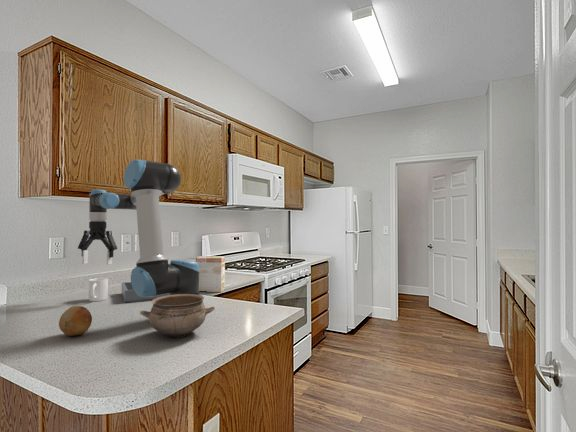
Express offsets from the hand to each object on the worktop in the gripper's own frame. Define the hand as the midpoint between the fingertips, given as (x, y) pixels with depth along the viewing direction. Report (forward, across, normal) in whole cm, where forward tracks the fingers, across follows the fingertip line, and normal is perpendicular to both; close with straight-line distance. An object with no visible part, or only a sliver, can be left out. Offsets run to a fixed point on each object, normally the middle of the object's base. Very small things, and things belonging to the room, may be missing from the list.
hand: (97, 263), depth 168 cm
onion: (+18, -30, +46) cm, 58 cm away
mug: (+18, 0, 0) cm, 18 cm away
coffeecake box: (+18, -45, -34) cm, 59 cm away
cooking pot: (+18, -64, +38) cm, 77 cm away
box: (+18, -18, -15) cm, 30 cm away
